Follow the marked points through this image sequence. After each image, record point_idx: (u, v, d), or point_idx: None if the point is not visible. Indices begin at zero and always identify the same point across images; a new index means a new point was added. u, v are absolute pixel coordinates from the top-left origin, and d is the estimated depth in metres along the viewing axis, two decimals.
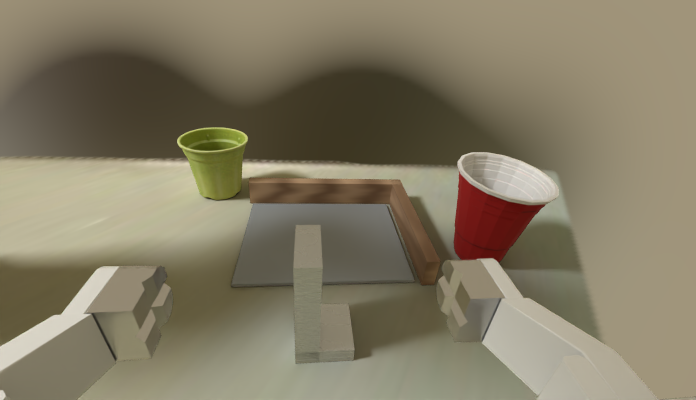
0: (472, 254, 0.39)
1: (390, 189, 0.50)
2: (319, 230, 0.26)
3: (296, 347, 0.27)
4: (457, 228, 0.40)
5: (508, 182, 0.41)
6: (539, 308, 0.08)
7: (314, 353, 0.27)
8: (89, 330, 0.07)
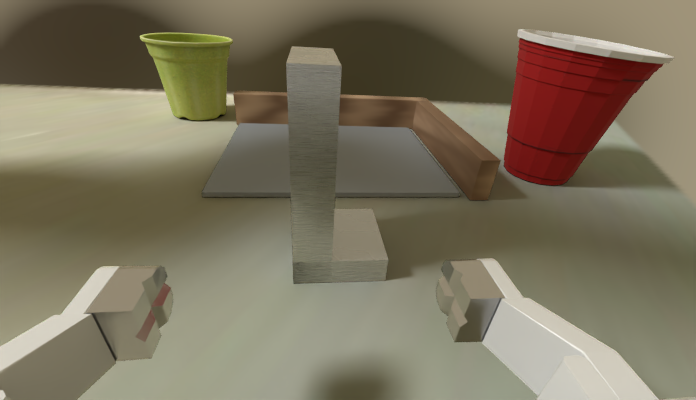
0: (535, 165, 0.29)
1: (414, 108, 0.40)
2: (331, 50, 0.16)
3: (294, 251, 0.16)
4: (513, 131, 0.29)
5: None
6: (539, 308, 0.08)
7: (323, 264, 0.17)
8: (89, 330, 0.07)
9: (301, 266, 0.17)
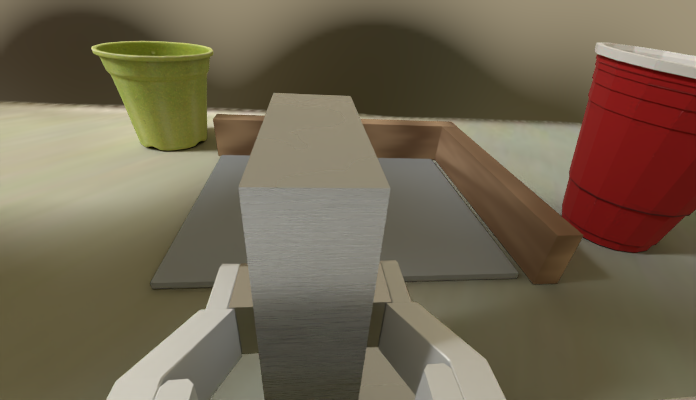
0: (615, 227, 0.21)
1: (438, 135, 0.32)
2: (349, 104, 0.08)
3: None
4: (583, 180, 0.22)
5: None
6: (422, 313, 0.08)
7: None
8: (230, 324, 0.08)
9: None
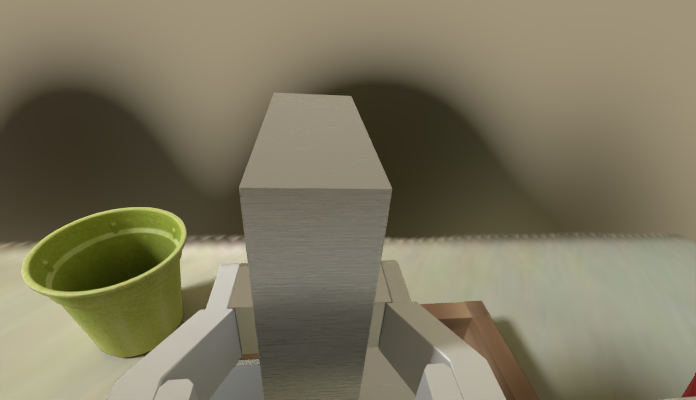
0: None
1: (467, 325, 0.26)
2: (350, 104, 0.08)
3: None
4: None
5: None
6: (422, 313, 0.08)
7: None
8: (230, 324, 0.08)
9: None
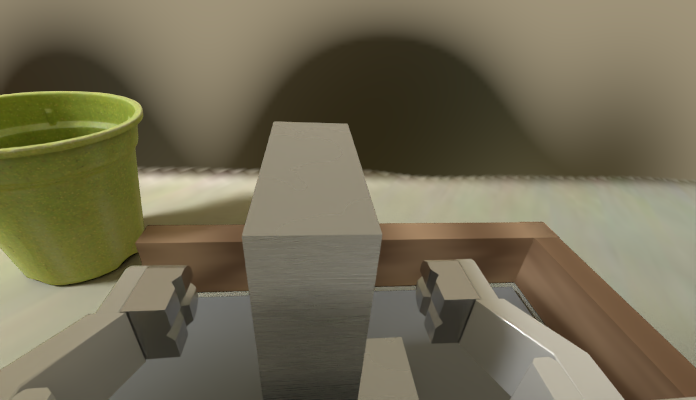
0: None
1: (526, 250, 0.19)
2: (346, 133, 0.08)
3: None
4: None
5: None
6: (513, 309, 0.08)
7: None
8: (123, 329, 0.07)
9: None
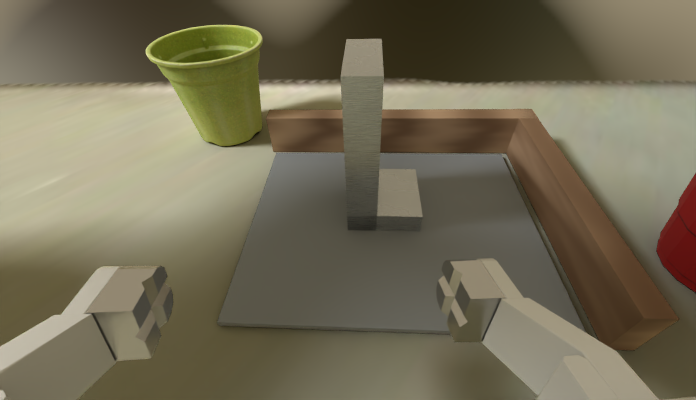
0: None
1: (513, 128, 0.28)
2: (379, 43, 0.18)
3: (348, 208, 0.21)
4: (695, 224, 0.18)
5: None
6: (539, 308, 0.08)
7: (370, 218, 0.22)
8: (89, 330, 0.07)
9: (353, 218, 0.22)
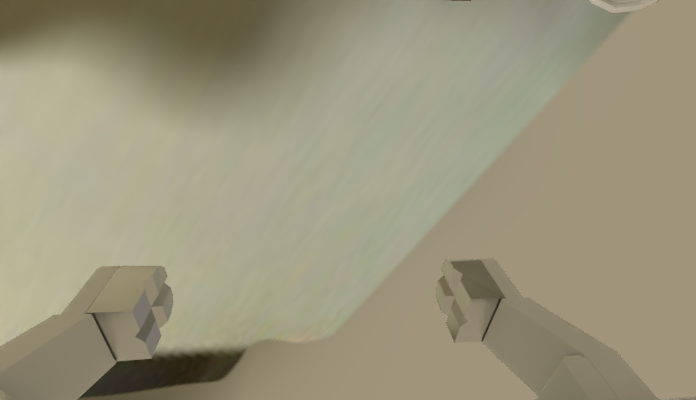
0: None
1: None
2: None
3: None
4: None
5: None
6: (539, 308, 0.08)
7: None
8: (89, 330, 0.07)
9: None
